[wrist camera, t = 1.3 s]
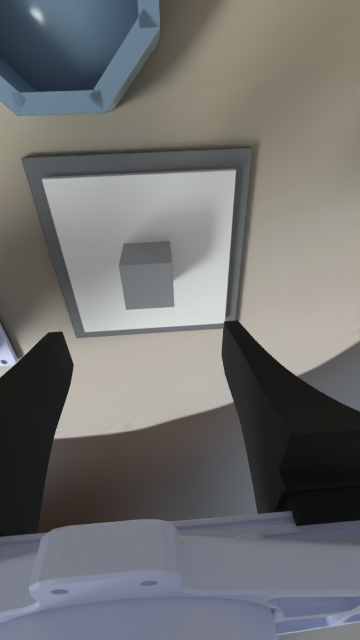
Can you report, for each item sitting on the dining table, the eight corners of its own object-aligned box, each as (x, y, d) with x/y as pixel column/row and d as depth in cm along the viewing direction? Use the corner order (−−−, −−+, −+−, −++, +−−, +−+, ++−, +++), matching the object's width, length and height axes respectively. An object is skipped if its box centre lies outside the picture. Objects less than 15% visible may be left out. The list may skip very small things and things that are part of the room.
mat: (77, 334, 25) (76, 338, 24) (24, 156, 17) (21, 158, 17) (233, 324, 25) (234, 327, 25) (250, 147, 17) (252, 148, 17)
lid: (86, 327, 24) (76, 360, 21) (44, 177, 17) (21, 193, 14) (223, 318, 24) (233, 350, 21) (233, 168, 18) (250, 182, 15)
